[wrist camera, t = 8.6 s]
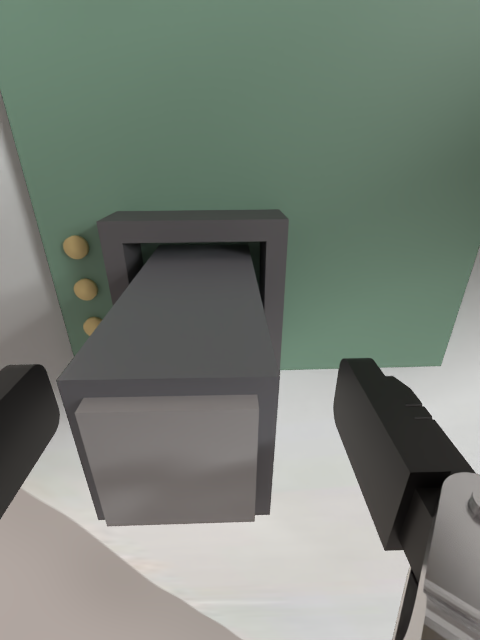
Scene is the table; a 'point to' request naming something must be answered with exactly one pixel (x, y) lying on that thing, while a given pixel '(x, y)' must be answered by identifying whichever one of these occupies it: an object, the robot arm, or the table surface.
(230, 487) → the plug
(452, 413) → the table surface
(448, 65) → the board
